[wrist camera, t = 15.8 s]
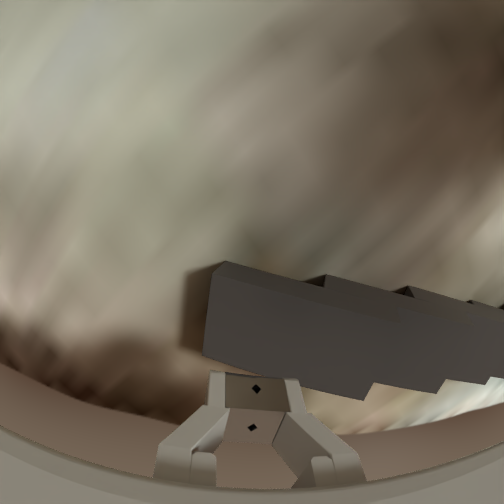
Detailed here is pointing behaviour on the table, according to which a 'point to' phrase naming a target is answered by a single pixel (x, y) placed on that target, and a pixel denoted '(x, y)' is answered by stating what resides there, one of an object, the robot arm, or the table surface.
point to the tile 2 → (415, 337)
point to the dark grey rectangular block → (297, 330)
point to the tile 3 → (472, 338)
